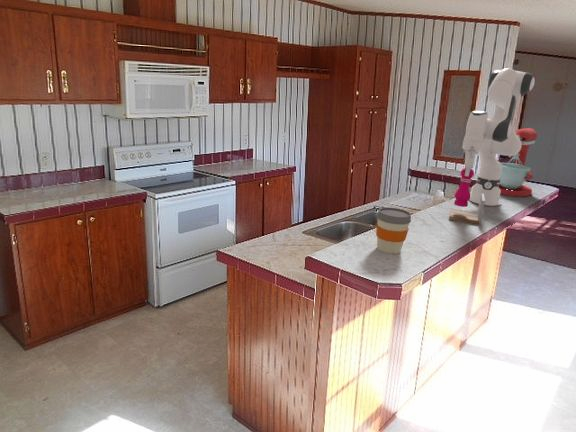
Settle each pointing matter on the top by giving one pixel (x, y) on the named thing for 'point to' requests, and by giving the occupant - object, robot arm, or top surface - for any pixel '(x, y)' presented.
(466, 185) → the pepper mill
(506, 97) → the robot arm
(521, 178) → the stand mixer
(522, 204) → the top surface
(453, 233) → the top surface
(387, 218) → the reusable coffee cup
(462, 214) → the bookend
